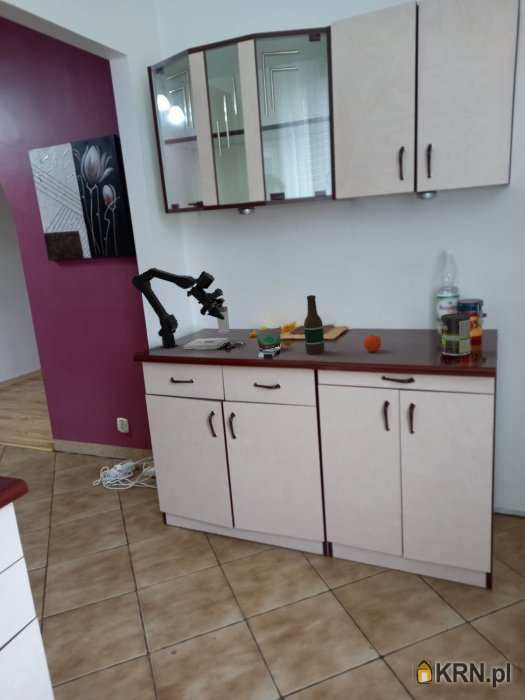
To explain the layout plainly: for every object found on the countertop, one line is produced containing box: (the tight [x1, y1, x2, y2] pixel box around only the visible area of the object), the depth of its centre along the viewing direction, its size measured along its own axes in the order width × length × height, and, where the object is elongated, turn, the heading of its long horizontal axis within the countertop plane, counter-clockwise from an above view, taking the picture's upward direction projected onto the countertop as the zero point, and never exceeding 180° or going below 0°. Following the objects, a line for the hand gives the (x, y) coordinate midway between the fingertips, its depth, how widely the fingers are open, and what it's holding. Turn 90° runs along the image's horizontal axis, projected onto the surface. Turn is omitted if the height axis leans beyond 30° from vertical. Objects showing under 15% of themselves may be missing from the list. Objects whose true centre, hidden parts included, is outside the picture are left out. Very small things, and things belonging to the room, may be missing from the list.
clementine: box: [363, 334, 382, 353], centre depth 211 cm, size 8×7×7 cm
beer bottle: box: [303, 294, 325, 356], centre depth 216 cm, size 8×8×24 cm
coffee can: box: [440, 313, 471, 357], centre depth 196 cm, size 10×10×14 cm
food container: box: [254, 326, 283, 352], centre depth 229 cm, size 12×6×10 cm, turn 105°
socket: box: [183, 337, 230, 350], centre depth 254 cm, size 17×15×2 cm
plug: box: [216, 305, 230, 334], centre depth 249 cm, size 4×4×12 cm
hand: (225, 318), depth 248 cm, fingers closed on plug, 4 cm apart
